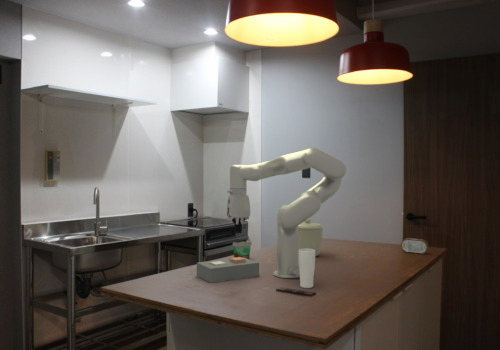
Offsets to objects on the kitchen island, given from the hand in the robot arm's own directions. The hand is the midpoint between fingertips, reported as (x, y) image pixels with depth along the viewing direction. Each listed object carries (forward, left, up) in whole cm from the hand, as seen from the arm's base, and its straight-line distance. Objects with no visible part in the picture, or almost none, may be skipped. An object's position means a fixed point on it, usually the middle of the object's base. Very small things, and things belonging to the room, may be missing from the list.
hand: (238, 232), depth 201 cm
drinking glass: (-32, -14, -19) cm, 40 cm away
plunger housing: (0, +5, -19) cm, 20 cm away
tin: (-4, -115, -19) cm, 116 cm away
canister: (+20, -56, -19) cm, 62 cm away
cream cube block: (0, +10, -18) cm, 21 cm away
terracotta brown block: (0, 0, -17) cm, 17 cm away
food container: (+26, -19, -19) cm, 37 cm away
